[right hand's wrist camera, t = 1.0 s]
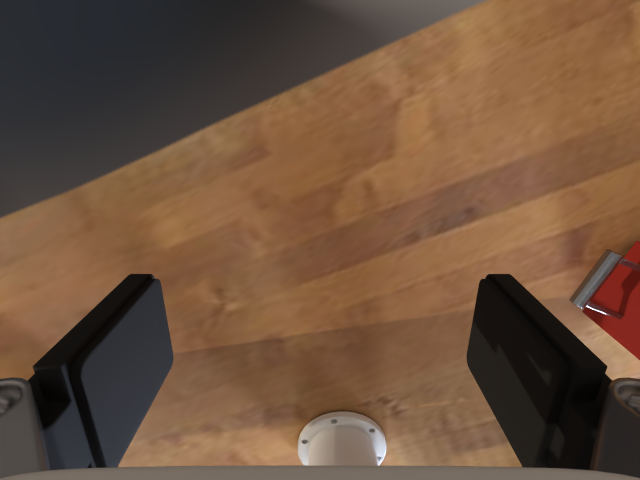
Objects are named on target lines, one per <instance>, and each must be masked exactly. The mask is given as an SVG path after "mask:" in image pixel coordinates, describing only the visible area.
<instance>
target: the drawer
mask: <svg viewBox="0 0 640 480" xmlns="http://www.w3.org/2000/svg"><path fill="white" fill-rule="evenodd" d="M618 264H619V265H618ZM617 265H618V266H617ZM616 266H617V267H616ZM615 267H616V269H615ZM614 269H615V270H614ZM613 270H614V271H613ZM612 271H613V272H612ZM611 273H612V274H611ZM610 274H611V275H610ZM609 275H610V276H609ZM608 277H609V278H608ZM607 278H608V279H607ZM606 279H607V280H606ZM605 280H606V281H605ZM604 282H605V283H604ZM603 283H604V284H603ZM602 284H603V285H602ZM601 286H602V287H601ZM600 287H601V288H600ZM599 288H600V289H599ZM598 290H599V291H598ZM597 291H598V292H597ZM596 292H597V293H596ZM595 293H596V294H595ZM594 295H595V296H594ZM593 296H594V297H593ZM592 297H593V298H592ZM591 299H592V300H591ZM569 300H570V301H571V302H572V303H573V304H575V305H577V306H579V307H581V308H585V309H584V310H583V311H582V312H583V313H584V314H585V315H587V316H588V317H589V318H590V319H591V320H593V321H594V322H595V323H596V324H597V325H599V326H600V327H601V328H602V329H603V330H605V331H606V332H607V333H608V334H609V335H610V336H612V337H613V338H614V339H615V340H616V341H618V342H619V343H620V344H621V345H622V346H624V347H625V348H626V349H627V350H628V351H630V352H631V353H632V354H633V355H634V356H635V357H637V358H638V359H639V360H640V242H639V241H636V243H635V244H634V245H633V247H632V248H631V249H630V250H629V252H628V253H627V254H626V256H625V257H624V258H623V256H622V255H620V254H618V253H616V252H614V251H612V250H609V249H607V250H606V251H605V252H604V254H603V255H602V256H601V258H600V259H599V260H598V262H597V263H596V264H595V266H594V267H593V268H592V270H591V271H590V272H589V274H588V275H587V276H586V278H585V279H584V280H583V282H582V283H581V284H580V286H579V287H578V288H577V290H576V291H575V292H574V294H573V295H572V296H571V298H570V299H569ZM590 300H591V301H590ZM585 306H586V307H585Z"/></svg>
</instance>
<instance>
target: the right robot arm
mask: <svg viewBox="0 0 640 480" xmlns="http://www.w3.org/2000/svg"><path fill="white" fill-rule="evenodd" d="M172 363H173V351H172V345H171V339H170V334H169V328H168V322H167V316H166V311H165V305H164V299H163V293H162V288H161V283H160V281H159V279H155V278H154V276H153V275H152V274H130V275H128V276H127V277H126V278H125V279H124V280H123V281H122V282H121V283H120V284H119V285H118V286H117V287H116V288H115V289H114V290H113V291H112V292H111V293H109V294H108V295H107V296H106V297H105V298H104V299H103V300H102V301H101V302H100V303H99V304H98V305H97V306H96V307H95V308H94V309H93V310H92V311H91V312H89V313H88V314H87V315H86V316H85V317H84V318H83V319H82V320H81V321H80V322H79V323H78V324H77V325H76V326H75V327H74V328H73V329H72V330H70V331H69V332H68V333H67V334H66V335H65V336H64V337H63V338H62V339H61V340H60V341H59V342H58V343H57V344H56V345H55V346H54V347H53V348H52V349H50V350H49V351H48V352H47V353H46V354H45V355H44V356H43V357H42V358H41V359H40V360H39V361H38V362H37V363H36V364H35V365H34V366H33V369H34V372H35V374H34V375H33V376H32V377H31V378H30V379H29V380H28V381H27V380H25V379H22V378H6V379H0V480H640V379H634V378H618V379H615V380H613V381H612V380H611V379H610V378H609V377H608V376H607V375H606V374H605V372H606V369H607V366H606V365H605V364H604V363H603V362H602V361H601V360H600V359H599V358H598V357H597V356H596V355H595V354H594V353H593V352H592V351H591V350H590V349H588V348H587V347H586V346H585V345H584V344H583V343H582V342H581V341H580V340H579V339H578V338H577V337H576V336H575V335H574V334H573V333H572V332H571V331H570V330H568V329H567V328H566V327H565V326H564V325H563V324H562V323H561V322H560V321H559V320H558V319H557V318H556V317H555V316H554V315H553V314H552V313H551V312H549V311H548V310H547V309H546V308H545V307H544V306H543V305H542V304H541V303H540V302H539V301H538V300H537V299H536V298H535V297H534V296H533V295H532V294H531V293H529V292H528V291H527V290H526V289H525V288H524V287H523V286H522V285H521V284H520V283H519V282H518V281H517V280H516V279H515V278H514V277H513V276H512V275H510V274H488V275H487V276H486V278H485V279H481V281H480V283H479V288H478V293H477V299H476V305H475V311H474V316H473V322H472V328H471V334H470V339H469V345H468V351H467V363H468V367H469V369H470V371H471V373H472V374H473V376H474V378H475V380H476V382H477V384H478V385H479V387H480V389H481V391H482V393H483V395H484V397H485V398H486V400H487V402H488V404H489V406H490V408H491V409H492V411H493V413H494V415H495V417H496V419H497V420H498V422H499V424H500V426H501V428H502V430H503V432H504V433H505V435H506V437H507V439H508V441H509V443H510V444H511V446H512V448H513V450H514V452H515V454H516V455H517V457H518V459H519V461H520V463H521V465H522V467H474V466H379V465H380V463H381V462H382V461H383V459H384V456H385V454H386V441H385V436H384V433H383V431H382V429H381V428H380V427H379V426H378V424H377V423H375V422H374V421H373V420H372V419H370V418H368V417H366V416H364V415H361V414H358V413H354V412H347V411H338V412H331V413H327V414H324V415H321V416H319V417H317V418H315V419H313V420H312V421H311V422H309V423H308V424H307V425H306V426H305V427H304V428H303V430H302V432H301V433H300V436H299V439H298V455H299V458H300V460H301V462H302V463H303V465H304V466H166V467H118V465H119V463H120V461H121V459H122V457H123V455H124V454H125V452H126V450H127V448H128V446H129V444H130V443H131V441H132V439H133V437H134V435H135V433H136V432H137V430H138V428H139V426H140V424H141V422H142V420H143V419H144V417H145V415H146V413H147V411H148V409H149V408H150V406H151V404H152V402H153V400H154V398H155V397H156V395H157V393H158V391H159V389H160V387H161V385H162V384H163V382H164V380H165V378H166V376H167V374H168V373H169V371H170V369H171V367H172Z"/></svg>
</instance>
